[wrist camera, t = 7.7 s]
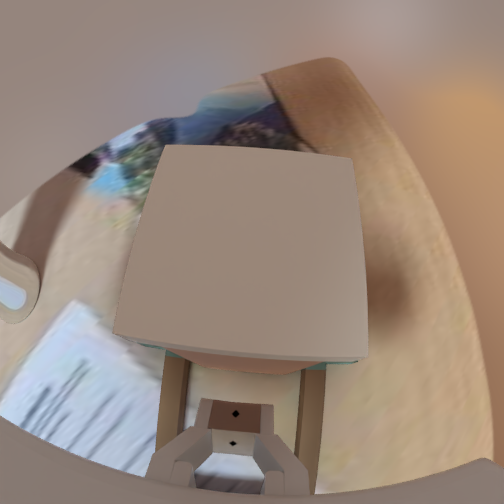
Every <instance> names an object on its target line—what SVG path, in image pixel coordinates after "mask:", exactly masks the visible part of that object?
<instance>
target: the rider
mask: <svg viewBox="0 0 504 504" xmlns="http://www.w3.org/2000/svg"><path fill="white" fill-rule="evenodd" d="M113 334H116V335H118V336H120V337H122V338H124V339H126V340H128V341H132V342H138V343H143V344H149V345H155V346H161V347H163V348H165V349H167V350H169V351H171V352H173V353H175V354H177V355H179V356H181V357H183V358H185V359H187V360H189V361H192V362H194V363H196V364H198V365H200V366H202V367H205V368H213V369H222V370H231V371H241V372H253V373H266V374H283V375H286V374H289V373H292V372H295V371H298V370H301V369H304V368H307V367H310V366H313V365H316V364H319V363H321V362H353V361H357V360H360V359H363V358H367V357H368V305H367V284H366V268H365V255H364V244H363V234H362V224H361V216H360V208H359V200H358V193H357V186H356V179H355V173H354V167H353V161H352V158H346V157H339V156H332V155H324V154H316V153H308V152H299V151H289V150H278V149H266V148H252V147H236V146H212V145H165V147H164V150H163V153H162V155H161V158H160V161H159V163H158V166H157V169H156V172H155V175H154V177H153V180H152V183H151V186H150V189H149V192H148V195H147V198H146V201H145V204H144V208H143V211H142V214H141V217H140V221H139V224H138V227H137V231H136V234H135V238H134V241H133V245H132V249H131V252H130V256H129V260H128V264H127V268H126V272H125V276H124V280H123V285H122V289H121V293H120V298H119V302H118V307H117V312H116V317H115V322H114V327H113Z"/></svg>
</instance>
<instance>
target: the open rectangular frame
mask: <svg viewBox="0 0 504 504" xmlns="http://www.w3.org/2000/svg"><path fill="white" fill-rule="evenodd" d="M137 343H138V342H137ZM139 344H141V345H143V346H147V347H153V348H158V349H164V350H166V355H165V362H164V370H163V378H162V386H161V395H160V404H159V413H158V424H157V435H156V448H155V452H156V451H158V450H159V449H161V448H162V447H163V446H165V445H166V444H167V443H169V442H170V441H172V440H173V439H174V438H176V437H177V436H178V435H180V434H181V433H182V431H183V421H184V410H185V401H186V391H187V382H188V374H189V365H190V361H189V360H187V359H185V358H183V357H181V356H179V355H177V354H175V353H173V352H171V351H169V350H167V349H165V348H163V347H161V346H155V345H149V344H143V343H139ZM355 362H358V360H357V361H353V362H321V363H319V364H316V365H313V366H310V367H307V368H304V369H301V381H300V395H299V408H298V420H297V431H296V442H295V452H294V455H295V456H296V457H297V458H298V459H299V461H300V462H301V463H302V464H303V465H304V466H305V467H306V469H307V470H308V477H309V489H310V495H314V493H315V486H316V478H317V470H318V462H319V453H320V444H321V433H322V422H323V410H324V396H325V379H326V364H352V363H355Z"/></svg>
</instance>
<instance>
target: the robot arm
mask: <svg viewBox="0 0 504 504" xmlns="http://www.w3.org/2000/svg"><path fill="white" fill-rule="evenodd" d="M212 452H214V453H225V454H235V455H245V456H253V458H254V460H255V462H256V463H257V465H258V466H259V468H260V469H261V471H262V473H263V474H264V476H265V478H264V481H263V485H262V489H261V492H260V495H255V494H240V493H229V492H220V491H212V490H204V489H198V488H197V487H196V482H195V477H194V471H195V470H196V469H197V468H198V467H199V466H200V465H201V464H202V463H203V462H204V461H205V460H206V459H207V458H208V457H209V456H210V455H211V454H212ZM0 504H504V468H503V467H501V466H500V465H498V464H496V463H495V462H493V461H491V460H489V459H487V458H479V459H476V460H474V461H471V462H469V463H466V464H463V465H460V466H458V467H455V468H452V469H449V470H446V471H443V472H439V473H436V474H433V475H429V476H426V477H422V478H418V479H414V480H410V481H406V482H402V483H397V484H392V485H387V486H382V487H376V488H370V489H364V490H357V491H349V492H340V493H329V494H315V495H310V489H309V477H308V470H307V469H306V467H305V466H304V465H303V464H302V463H301V462H300V461H299V459H298V458H297V457H296V456H295V455H294V454H293V453H292V451H291V450H290V449H289V448H288V447H287V446H286V444H285V443H284V442H283V441H282V440H281V438H280V437H279V436H278V435H275V434H274V406H273V405H268V404H253V403H239V402H237V403H236V402H227V401H220V400H212V399H205V398H202V399H201V400H200V404H199V408H198V412H197V416H196V420H195V424H194V427H193V426H190V427H189V428H187V429H186V430H185V431H184V432H182V433H181V434H180V435H178V436H177V437H176V438H174V439H173V440H172V441H170V442H169V443H167V444H166V445H165V446H163V447H162V448H161V449H159V450H158V451H156V452H155V453H154V454H153V455H152V458H151V461H150V464H149V467H148V469H147V472H146V475H145V477H141V476H137V475H134V474H130V473H127V472H124V471H120V470H117V469H114V468H111V467H108V466H105V465H102V464H99V463H97V462H94V461H91V460H88V459H86V458H83V457H81V456H78V455H76V454H73V453H71V452H69V451H66V450H64V449H62V448H60V447H57V446H55V445H53V444H51V443H49V442H47V441H45V440H43V439H41V438H39V437H37V436H35V435H33V434H31V433H29V432H27V431H26V430H24V429H22V428H20V427H18V426H17V425H15V424H13V423H11V422H10V421H8V420H6V419H5V418H3V417H2V416H0Z"/></svg>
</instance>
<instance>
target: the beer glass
mask: <svg viewBox="0 0 504 504" xmlns="http://www.w3.org/2000/svg"><path fill="white" fill-rule="evenodd" d="M39 288H40V276H39V272H38V269H37V266H36V265H35V263H34V262H33V261H32V260H31V259H29V258H28V257H26V256H23V255H21V254H19V253H17V252H15V251H13V250H11V249H10V248H8V247H7V246H6V245H5V244H4V243H3V242H2V241H1V240H0V319H1V320H2V321H4V322H6V323H9V324H16V323H19V322H21V321H23V320H24V319H25V318H26V317H27V316H28V315H29V314H30V312H31V311H32V309H33V307H34V306H35V303H36V301H37V298H38V294H39Z"/></svg>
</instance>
